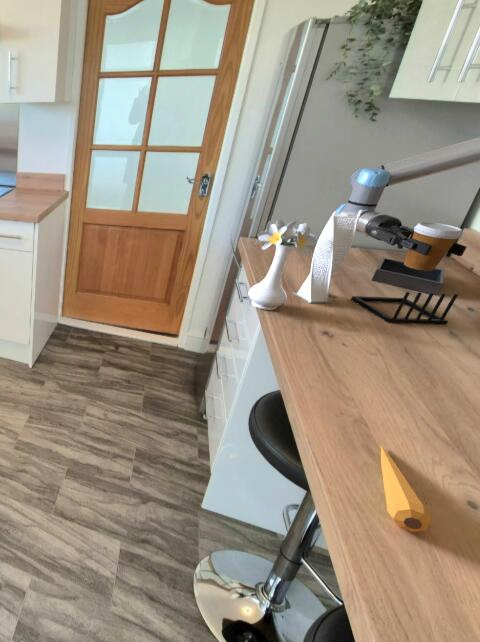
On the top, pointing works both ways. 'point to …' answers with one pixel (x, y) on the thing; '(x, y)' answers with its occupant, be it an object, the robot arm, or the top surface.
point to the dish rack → (422, 310)
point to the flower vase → (279, 261)
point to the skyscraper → (329, 256)
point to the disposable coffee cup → (432, 244)
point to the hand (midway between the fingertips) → (445, 251)
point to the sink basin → (408, 276)
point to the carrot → (402, 498)
